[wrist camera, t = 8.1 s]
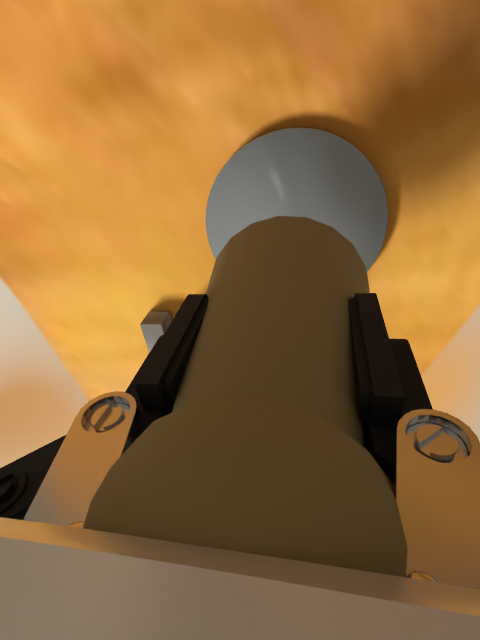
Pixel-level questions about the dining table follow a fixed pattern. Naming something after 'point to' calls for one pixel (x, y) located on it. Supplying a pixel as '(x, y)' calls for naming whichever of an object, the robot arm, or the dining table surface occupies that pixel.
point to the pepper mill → (266, 418)
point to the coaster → (300, 188)
